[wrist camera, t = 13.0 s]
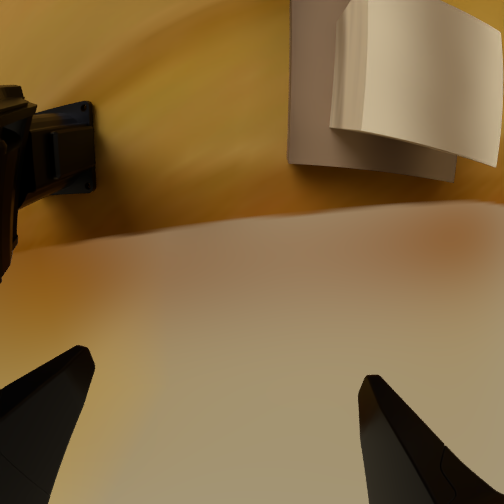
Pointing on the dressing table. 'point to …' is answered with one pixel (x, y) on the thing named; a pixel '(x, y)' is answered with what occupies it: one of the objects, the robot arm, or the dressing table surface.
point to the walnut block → (320, 100)
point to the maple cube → (419, 76)
